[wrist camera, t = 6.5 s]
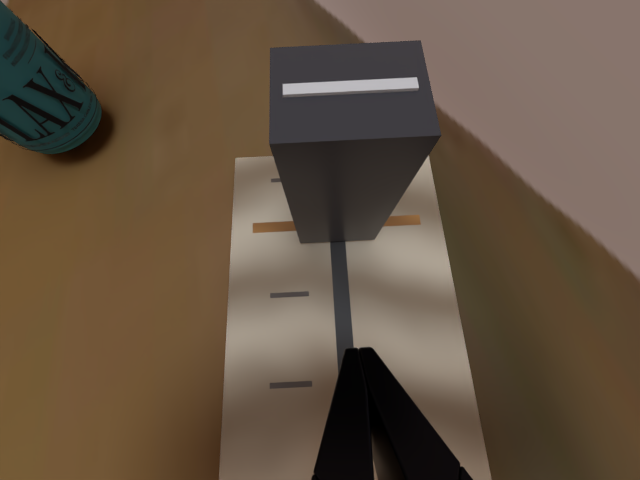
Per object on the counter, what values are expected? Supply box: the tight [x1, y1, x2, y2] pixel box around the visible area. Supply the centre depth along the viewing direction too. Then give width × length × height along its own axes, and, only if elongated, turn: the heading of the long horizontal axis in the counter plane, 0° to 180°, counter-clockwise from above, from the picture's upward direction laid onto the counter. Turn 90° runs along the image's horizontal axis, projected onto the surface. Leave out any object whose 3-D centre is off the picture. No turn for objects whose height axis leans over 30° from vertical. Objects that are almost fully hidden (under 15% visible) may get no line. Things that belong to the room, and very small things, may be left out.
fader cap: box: [269, 41, 441, 243], centre depth 13 cm, size 4×5×10 cm
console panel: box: [219, 156, 492, 480], centre depth 16 cm, size 20×14×3 cm
